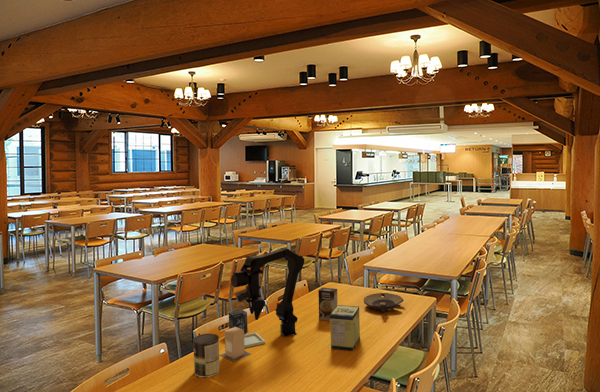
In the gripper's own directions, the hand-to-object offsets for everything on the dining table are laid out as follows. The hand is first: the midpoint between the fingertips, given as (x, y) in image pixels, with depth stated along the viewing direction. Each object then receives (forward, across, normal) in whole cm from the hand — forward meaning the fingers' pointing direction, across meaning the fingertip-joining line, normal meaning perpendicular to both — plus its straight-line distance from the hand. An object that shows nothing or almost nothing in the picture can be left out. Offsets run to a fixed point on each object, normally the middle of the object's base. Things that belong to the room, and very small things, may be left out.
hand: (254, 316), depth 204 cm
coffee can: (+14, +20, -25) cm, 35 cm away
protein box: (+13, +16, +39) cm, 44 cm away
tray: (+13, -3, -2) cm, 14 cm away
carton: (+13, +9, -11) cm, 19 cm away
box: (+13, -18, -4) cm, 22 cm away
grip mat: (+13, +9, -11) cm, 19 cm away
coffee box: (+12, -18, +45) cm, 50 cm away
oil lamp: (+12, -20, +79) cm, 83 cm away
